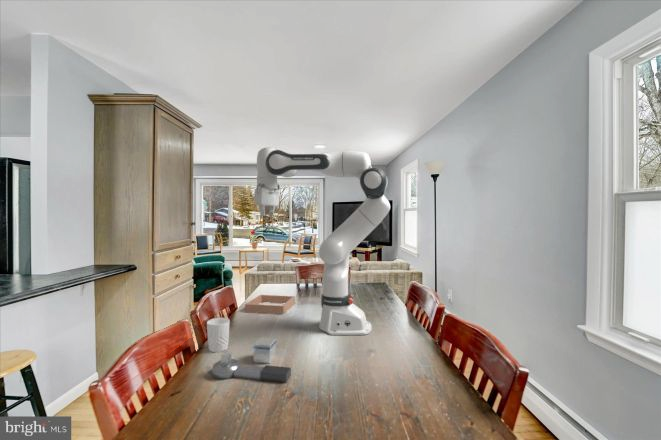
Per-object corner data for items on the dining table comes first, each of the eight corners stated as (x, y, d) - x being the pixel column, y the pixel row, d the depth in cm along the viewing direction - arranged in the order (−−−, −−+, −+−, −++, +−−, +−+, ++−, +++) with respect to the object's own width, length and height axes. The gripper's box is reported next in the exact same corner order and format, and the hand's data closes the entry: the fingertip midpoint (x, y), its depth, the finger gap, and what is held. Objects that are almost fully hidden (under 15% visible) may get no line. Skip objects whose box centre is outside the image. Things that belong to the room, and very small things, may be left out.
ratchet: (292, 372, 98) (292, 353, 98) (284, 386, 90) (283, 365, 90) (221, 365, 103) (221, 347, 103) (207, 378, 95) (206, 358, 95)
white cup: (208, 354, 111) (208, 326, 110) (205, 346, 118) (205, 319, 117) (231, 350, 114) (231, 322, 114) (227, 342, 121) (227, 316, 121)
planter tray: (295, 303, 173) (295, 296, 173) (283, 314, 155) (283, 306, 155) (260, 301, 177) (260, 294, 177) (245, 312, 159) (244, 304, 158)
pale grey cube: (276, 355, 109) (276, 338, 109) (269, 363, 104) (269, 345, 104) (260, 354, 111) (260, 337, 110) (253, 362, 105) (253, 344, 105)
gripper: (264, 182, 131) (264, 216, 131) (281, 186, 151) (281, 215, 151) (250, 182, 132) (250, 216, 132) (268, 187, 152) (269, 215, 153)
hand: (267, 216), depth 142 cm, fingers open, 8 cm apart
